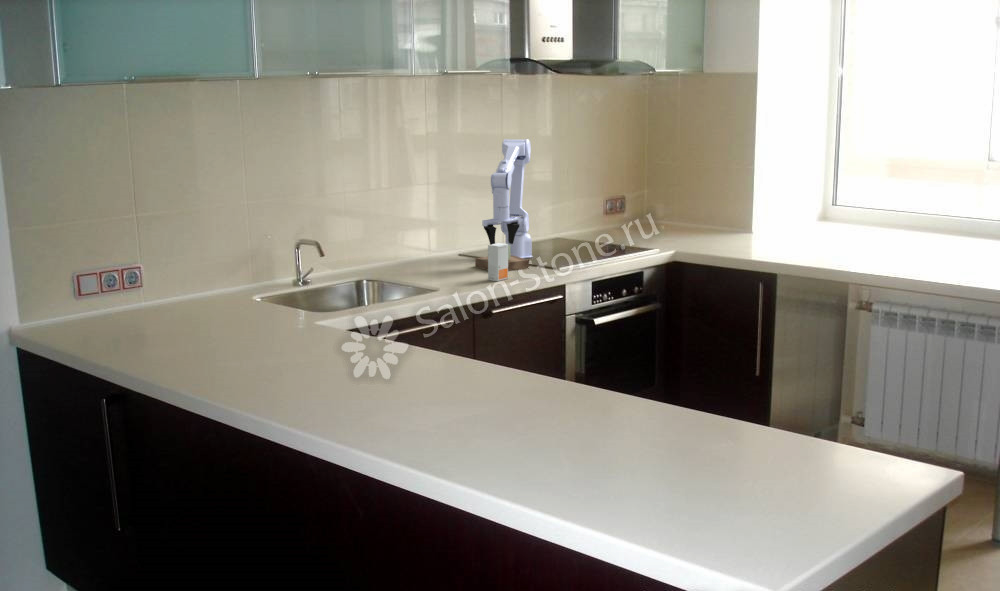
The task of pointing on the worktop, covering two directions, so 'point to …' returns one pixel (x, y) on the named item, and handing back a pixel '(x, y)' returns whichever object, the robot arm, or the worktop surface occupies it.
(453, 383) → the worktop surface
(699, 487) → the worktop surface
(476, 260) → the walnut base
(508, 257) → the sage block
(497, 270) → the skincare box
